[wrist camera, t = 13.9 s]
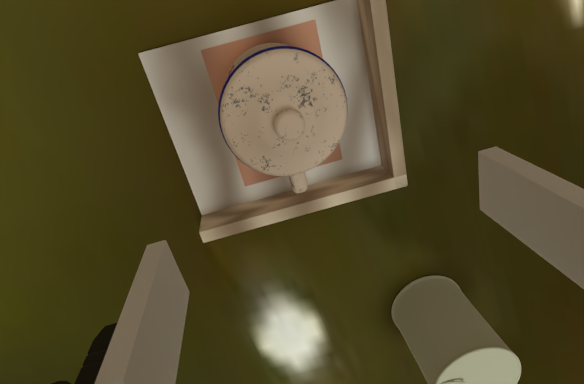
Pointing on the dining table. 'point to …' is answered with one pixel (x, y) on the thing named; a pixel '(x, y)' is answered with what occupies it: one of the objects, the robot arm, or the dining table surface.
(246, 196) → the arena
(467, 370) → the can
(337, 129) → the teacup with lid
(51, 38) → the dining table surface
